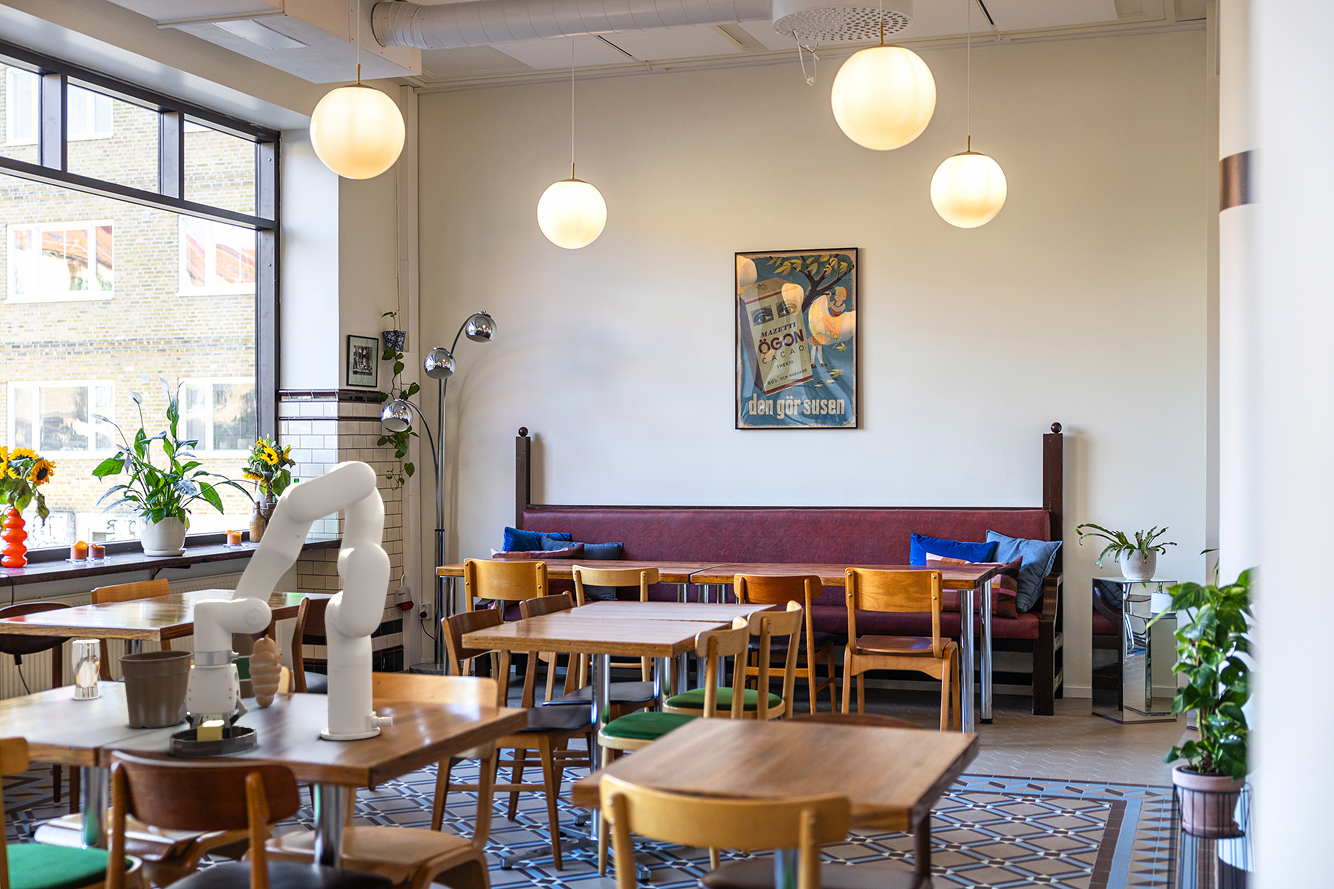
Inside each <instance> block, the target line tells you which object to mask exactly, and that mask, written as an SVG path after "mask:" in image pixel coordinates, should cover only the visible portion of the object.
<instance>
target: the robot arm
mask: <svg viewBox="0 0 1334 889" xmlns="http://www.w3.org/2000/svg"><path fill="white" fill-rule="evenodd" d="M343 509H344V527H343V533H342V539H341V544H340V549H339V554H338V558H337V563H336V567H337V572H338V574H339V575H338V576H340V578H341V579H342V580H343V586H342V591H340V592H337V593H336V594H334V595H333V596H332V597H331V598H330V599H329V601H328V602H327V604H326V607H325V611H324V626H325V627H324V628H325V635H326V647H327V728H324V729H322V730H321V731H320V737H321V738H322V739H324V740H330V741H353V740H355V741H356V740H362V739H363V740H364V739H368V738H369V739H370V738H373V737H376V736H378V735H380V733H381V729H380V728H381V727H383V728H384V727H393V720H394V719H393V717H389V716H382V717H379V716H376V715H377V712H376V711H373V646H372V644H373V643H372V637H371V635H372V634H373V633H374V632H376V631H377V629H378V628H379V626H380V624H381V622H382V620H383V616H384V610H385V605H386V601H387V600H386V599H387V596H388V595H387V594H388V587H389V583H390V577H391V563H390V558H389V555H388V554H387V552H386V550H384V548H383V547H382V542H383V534H384V526H385V506H384V502H383V498H382V496H381V494H380V492H379V490H378V488H377V475H376V472H375V471H374V469H373V468H372V466H370V464H367V463H366V462H364V461H361V460H359V461H358V460H357V461H356V460H354V461H344V462H339V463H337V464H336V465H334V466H333V467H332V468H331V469H330V471H329V472H327V473H325V474H322V475H320V476H318V477H314V478H312V479H309V480H306V481H304V482H295V483H292V484H290V485H289V486H287V487H286V488H285V489H284V490H283V491H282V493H281V495H280V497H279V499H278V501H277V503H276V505H275V508H274V510H273V513H272V515H271V517H270V518H269V522H268V524H267V526H266V528H265V530H264V532H263V535H262V537H261V539H260V541H259V543H258V545H257V547H256V549H255V551H254V552H253V554H252V557H251V558H250V560H249V562H248V564H247V566H246V568H245V569H244V570H243V573H242V575H241V577H240V579H239V581H238V583H237V586H236V588H235V590H234V592H233V594H232V596H231V598H230V601H229V600H227V599H218V598H217V599H215V598H214V599H203V600H199V601H197V602H195V604H194V607H193V665H191V666H190V670H189V673H188V684H187V700H186V701H185V703H184V704H183V705H182V707H181V708H180V710H179V711H178V715H179V716H181V717H182V718H184V719H185V721H186V722H187V723H188V725H189V724H190V725H191V726H192V728H193V729H195V741H197V727H198V726H200V725H202V723H203V719H204V715H205V714H222V718H223V722H224V728H223V729H222V739H228V738H232V726H235V724H236V723H237V722H238V721H239V720H240V719H241V718H242V717H243V716H245V715H246V714H247V713H248V712H250V710H249V708H248V706H247V705H246V704H245V703H244V701H243V700H242V698H240V686H239V677H238V671H237V666H236V664H232V662H233V660H235V659H238V658H239V653H235V652H233V649H232V638H233V634H234V633H248V634H250V635H251V634H258V633H261V632H263V631H265V629H266V628H267V627H268V626H269V625H270V624H271V621H272V616H273V614H272V609H271V608H270V606H269V604H268V602H269V600H270V599H271V596H272V593H273V591H274V590H275V587H276V586H277V584H278V582H279V581H280V579H281V578H282V577H283V575H284V574H286V572H288V571H289V570H290V569H291V567H292V566H293V565H294V564H295V563H296V561H297V559H298V557H299V555H300V553H301V551H302V548H303V546H304V544H305V541H306V539H307V537H308V534H309V532H310V530H311V529H312V526H313V524H314V522H316V521H317V520H320V519H323V518H326V517H328V516H331V515H333V514H335V513H337V512H340V511H341V510H343ZM237 710H238V711H237ZM233 711H234V712H235V711H237V712H236V713H234V716H232V712H233ZM191 714H195V717H194V716H193V715H191Z"/></svg>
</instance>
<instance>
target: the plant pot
mask: <svg viewBox="0 0 1334 889" xmlns="http://www.w3.org/2000/svg"><path fill="white" fill-rule="evenodd" d="M192 657H194V651H188V650H157V651H153V650H152V651H143V652H135V653H130V654H125V655H122V656H119V657H118V658H117V659H118V662H120V668H121V675H122V677H123V680H124V688H125V696H126V705H127V715H128V724H129V727H131V728H136V729H142V728H144V727H146V728H147V729H155V728H160V729H161V728H167V727H171V726H176V725H179V724H180V723H184V722H185V721H186V719H184V718H182V717H181V716H179V715H178V711H179V710H180V708H181V707H182V705H183V704H184V699H185V695H186V693H187V688H188V680H189V673H190V669H191V663H192Z"/></svg>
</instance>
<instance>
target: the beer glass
mask: <svg viewBox="0 0 1334 889" xmlns="http://www.w3.org/2000/svg"><path fill="white" fill-rule="evenodd" d="M100 642H101V641H100V640H99V639H85V640H76V641H73V642H72V649H71V651H72V652H71V664H72V670H73V676H74V682H75V688H74V689H75V690H74V695H73V699H74V700H77V701H84V700H85V701H86V700H94V699H98V698H99V697H100V694H99V686H98V679H99V673H100V668H101V662H102V661H101V660H102V658H101V657H102V656H101V643H100Z"/></svg>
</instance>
